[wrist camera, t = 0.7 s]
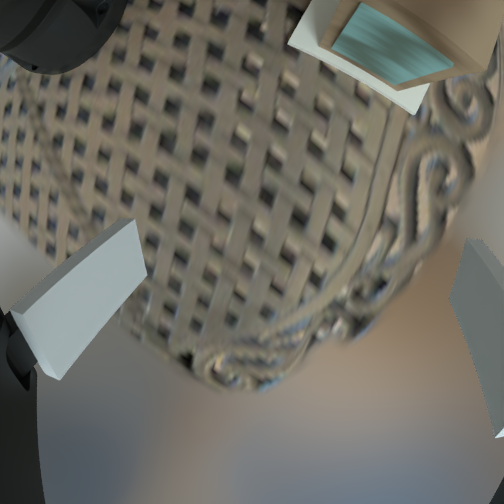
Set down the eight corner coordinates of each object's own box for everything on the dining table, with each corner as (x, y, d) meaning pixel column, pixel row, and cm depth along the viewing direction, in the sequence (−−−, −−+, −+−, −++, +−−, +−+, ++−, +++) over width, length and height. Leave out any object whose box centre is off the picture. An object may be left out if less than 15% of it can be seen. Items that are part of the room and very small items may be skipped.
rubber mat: (287, 44, 23) (287, 42, 23) (352, -63, 17) (353, -66, 17) (412, 114, 24) (415, 114, 24) (461, 2, 19) (463, 1, 18)
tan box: (317, 49, 23) (349, -18, 10) (344, -1, 20) (388, -82, 7) (395, 94, 23) (484, 74, 10) (419, 43, 21) (506, 1, 8)
